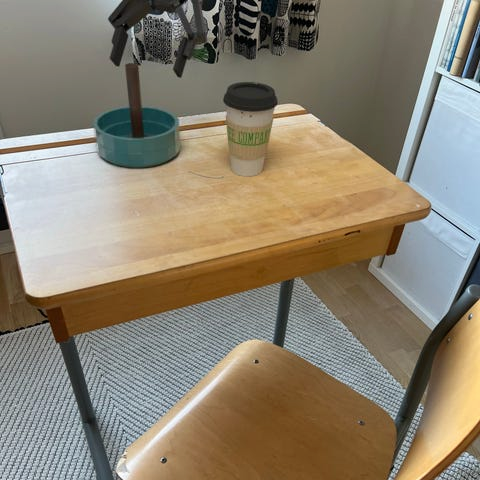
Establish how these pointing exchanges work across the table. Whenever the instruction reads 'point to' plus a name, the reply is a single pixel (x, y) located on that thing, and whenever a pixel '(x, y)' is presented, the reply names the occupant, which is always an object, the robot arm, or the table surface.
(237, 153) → the coffee cup
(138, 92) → the brown pestle
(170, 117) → the bowl
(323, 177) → the table surface
